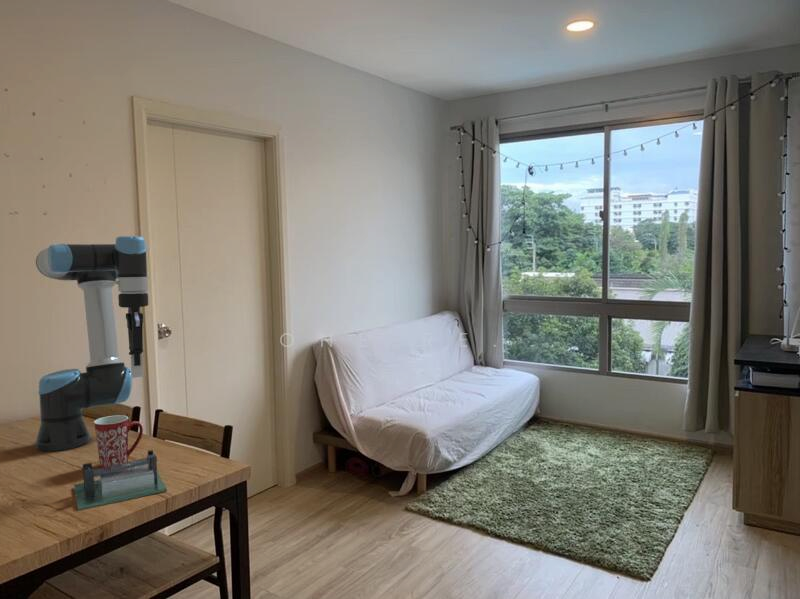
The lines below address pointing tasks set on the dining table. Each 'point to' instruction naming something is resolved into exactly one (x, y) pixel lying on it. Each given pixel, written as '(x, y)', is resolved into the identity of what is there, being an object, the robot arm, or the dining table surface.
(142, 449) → the dining table surface
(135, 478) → the heatsink assembly
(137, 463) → the strap
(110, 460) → the mug
